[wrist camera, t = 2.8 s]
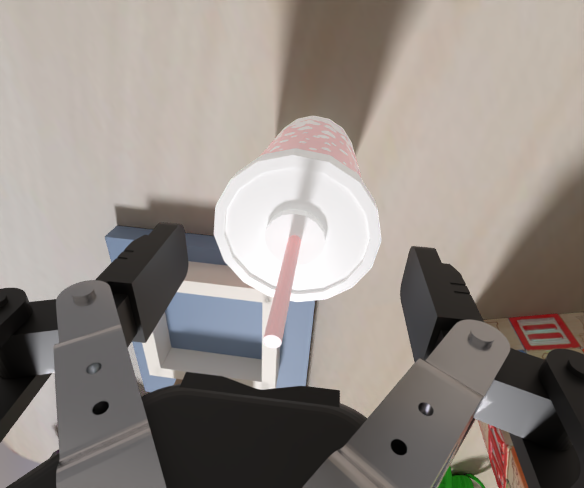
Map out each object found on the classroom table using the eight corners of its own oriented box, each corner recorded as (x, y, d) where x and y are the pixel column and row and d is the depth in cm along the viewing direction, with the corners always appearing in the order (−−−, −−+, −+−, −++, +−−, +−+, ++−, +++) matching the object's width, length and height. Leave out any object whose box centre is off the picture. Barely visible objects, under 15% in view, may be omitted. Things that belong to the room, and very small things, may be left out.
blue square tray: (116, 225, 25) (64, 273, 20) (320, 247, 24) (315, 303, 19) (152, 377, 33) (122, 435, 29) (304, 398, 32) (297, 462, 28)
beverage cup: (280, 81, 19) (175, 189, 7) (388, 127, 19) (456, 298, 8) (247, 183, 22) (136, 373, 10) (339, 220, 23) (335, 440, 11)
